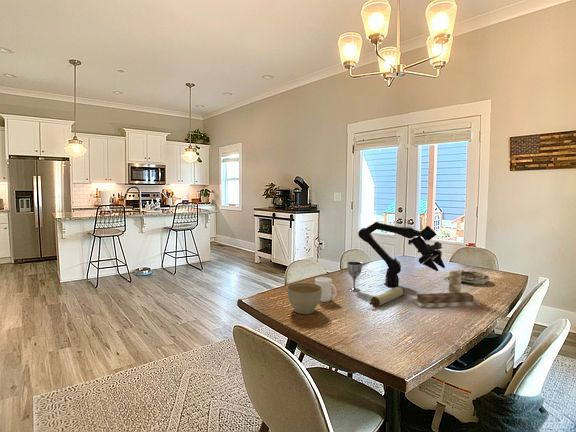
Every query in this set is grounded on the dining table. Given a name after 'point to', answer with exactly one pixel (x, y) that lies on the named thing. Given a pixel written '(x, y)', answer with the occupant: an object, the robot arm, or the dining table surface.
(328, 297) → the mug
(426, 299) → the ridge stand
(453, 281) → the ash post
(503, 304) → the dining table surface
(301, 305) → the planter bowl
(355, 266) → the wine glass
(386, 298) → the rolling pin
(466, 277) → the pie
